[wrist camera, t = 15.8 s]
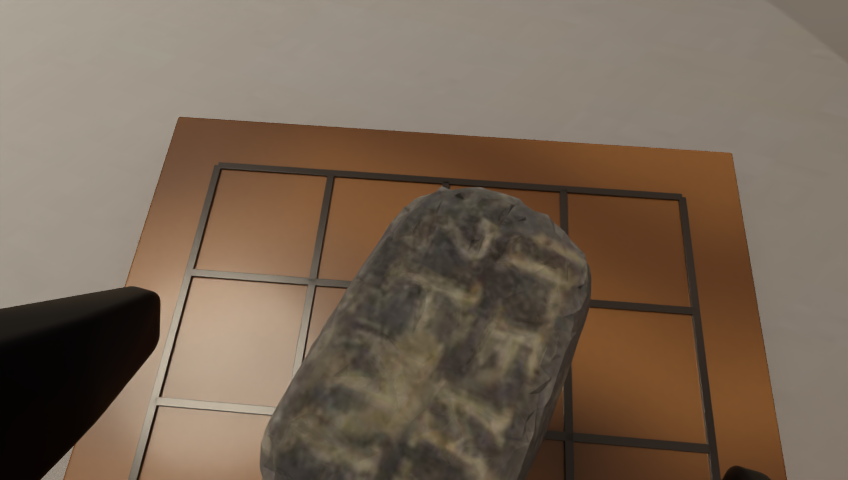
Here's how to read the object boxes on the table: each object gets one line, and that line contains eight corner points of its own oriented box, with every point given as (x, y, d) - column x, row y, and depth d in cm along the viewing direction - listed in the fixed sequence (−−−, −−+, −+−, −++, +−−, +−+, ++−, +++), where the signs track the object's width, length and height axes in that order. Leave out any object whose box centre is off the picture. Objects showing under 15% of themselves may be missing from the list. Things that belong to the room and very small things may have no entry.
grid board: (832, 930, 12) (876, 978, 11) (-19, 828, 13) (-65, 863, 12) (716, 169, 20) (734, 150, 19) (190, 134, 21) (176, 114, 20)
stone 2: (326, 496, 15) (140, 538, 6) (424, 316, 17) (405, 126, 8) (438, 565, 14) (436, 742, 5) (527, 369, 16) (646, 231, 7)
